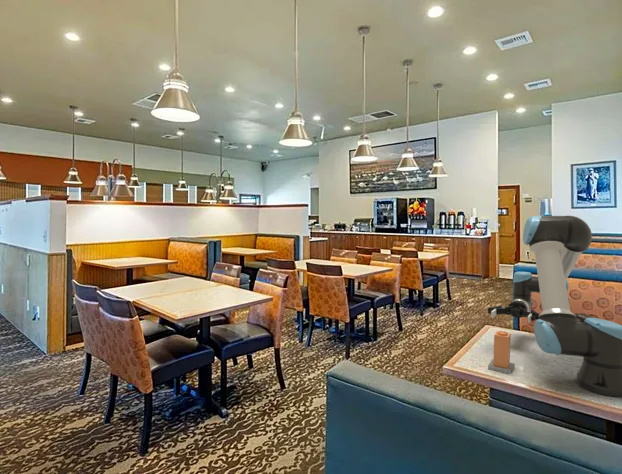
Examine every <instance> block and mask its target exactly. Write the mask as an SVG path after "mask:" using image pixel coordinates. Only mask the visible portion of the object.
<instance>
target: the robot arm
mask: <svg viewBox="0 0 622 474" xmlns="http://www.w3.org/2000/svg"><path fill="white" fill-rule="evenodd" d="M592 240H593V233H592V230H591V228H590V225H588V223H587V222H585V221H584V220H583V219H582V218H580V217H578V216H574V215H541V214H540V215H533V216H532V215H531V216H529V217H528V218H526V221H525V223H524V228H523V232H522V241H523V244H524V245H527V246H528V245H529V251H531V252H532V253H534V257H535V264H536V270H537V271H536V272H537V276H536V275H535V276H533V274H532V273H531V271H529V272H528V271H515V272H514V274H513V281H512V282H513V290H512V291H513V292H512V293H513V294H512V301H511V302H510V303H509V304H508V306H503V305H502V304H501V305H498V306H491V307H490V306H489V307H487V314H490V318H491V319H494V318H495V317H496V316H497V315H506V316H509V315H510V316H511V317H514V318H515V319H520V318H526V319H527V324H531V322H532V321H534V323H533V327H534V328H533V334H534V337H535V341H536V343H537V345H538V347H539V349H540V350H541V351H542V352H543V353H545V354H550V355H552V354H553V355H557V356H560V355H561V356H562V355H563V356H573V357H574V356H577V357H583V359H582V363H581V365H580V367H579V369H578V372H577V373H576V377H575V379H576V380H575V381H576V383H577V384H578V386H580V387H581V388H583V389H585V390H587V391H590V392H592V393H596V394H599V395H602V396H607V397H608V396H609V397H615V396H616V398H617V397H618V398H621V397H622V325H621V324H618V323H617V322H614V321H611V320H606V319H602V318H597V317H594V318H586V319H585V320H584V321H585V323H582V322H577V319H576V315H575V313H574V312H572V311H571V309H570V308H571V307H570V302H569V296H568V290H569V281H568V278H569V276H570V274H571V272H572V270H573V269H574V267H575V265H576V264H577V262H578V261H579V258H580V256H581V255H582V253H583V252H584V253H585V252H586V251H587V250H588V249H589V248H590V246H591V244H592ZM532 293H539V295H540V302H541V303H540V304H541V310H542V311H541V313H538V312H537V311H536V310H534V308H533V309H531V308H532V305H533V302H532Z"/></svg>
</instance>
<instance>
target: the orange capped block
mask: <svg viewBox="0 0 622 474" xmlns="http://www.w3.org/2000/svg"><path fill="white" fill-rule="evenodd" d="M493 336H494V337H493V359H494V361H493V365H496V366H500V367H505V368H508V366H509V364H510V363H511V361H510V360H511V341H512V340H511V337H512V334H511V333H508V332H507V331H505V330H498V331H496V332H495V333H494V335H493Z"/></svg>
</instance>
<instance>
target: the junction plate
mask: <svg viewBox="0 0 622 474" xmlns="http://www.w3.org/2000/svg"><path fill="white" fill-rule="evenodd" d="M493 361H494V358H492V359H491V360H490V362H489V363H488V365H487V369H488V370H490V369H493V370H492V371H495V370H496V371H495V372H499V371H500V372H499V373H503V374H504V373H505V374H509V375H511V374H512V373H513V371H514V370H515V368H516V364H515V362H510V364H509V366H508V368H505V367H500V366H496V365H493Z"/></svg>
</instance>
